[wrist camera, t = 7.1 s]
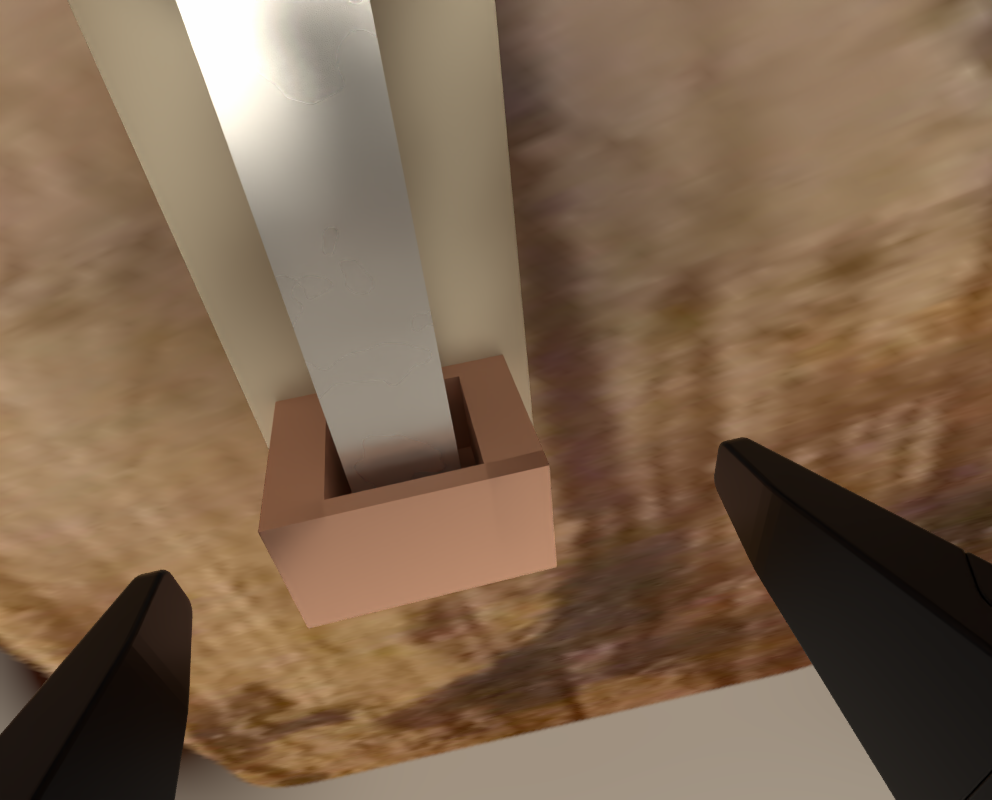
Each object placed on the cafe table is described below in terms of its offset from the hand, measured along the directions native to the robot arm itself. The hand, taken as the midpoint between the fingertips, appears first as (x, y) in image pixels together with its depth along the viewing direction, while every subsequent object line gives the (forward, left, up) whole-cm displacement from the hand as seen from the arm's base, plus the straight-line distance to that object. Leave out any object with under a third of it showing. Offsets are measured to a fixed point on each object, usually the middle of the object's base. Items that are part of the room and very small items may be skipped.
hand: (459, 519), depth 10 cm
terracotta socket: (+1, +6, -10) cm, 11 cm away
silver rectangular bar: (+1, -2, -9) cm, 9 cm away
